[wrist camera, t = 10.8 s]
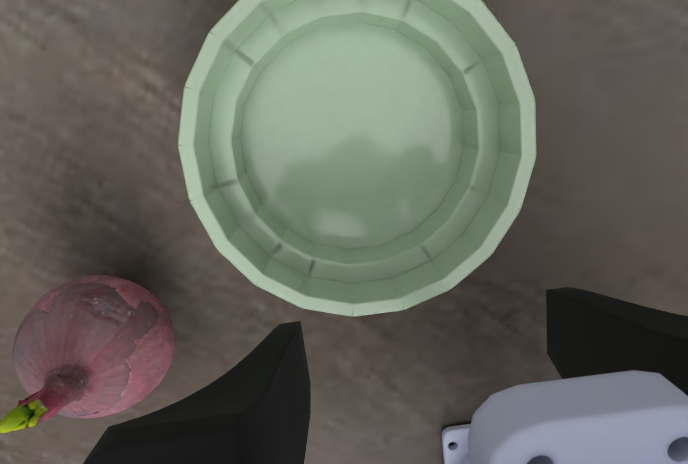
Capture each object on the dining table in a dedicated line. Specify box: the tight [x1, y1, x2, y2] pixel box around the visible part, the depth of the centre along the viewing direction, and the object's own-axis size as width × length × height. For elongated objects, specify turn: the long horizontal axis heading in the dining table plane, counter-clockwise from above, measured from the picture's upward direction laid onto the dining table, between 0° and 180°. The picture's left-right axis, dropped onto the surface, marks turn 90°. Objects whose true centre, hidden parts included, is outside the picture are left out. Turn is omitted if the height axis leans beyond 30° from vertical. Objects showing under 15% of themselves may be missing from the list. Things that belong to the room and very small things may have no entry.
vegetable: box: [0, 275, 175, 433], centre depth 20 cm, size 6×6×10 cm
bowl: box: [178, 0, 536, 316], centre depth 20 cm, size 13×13×5 cm
